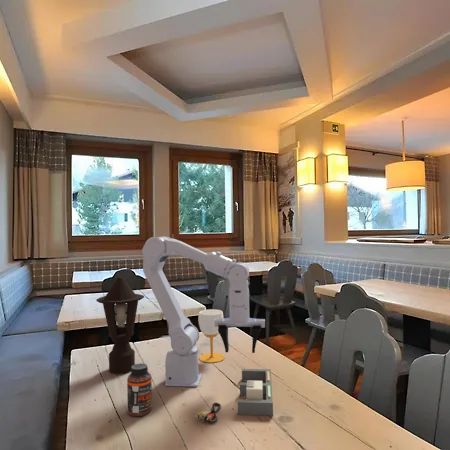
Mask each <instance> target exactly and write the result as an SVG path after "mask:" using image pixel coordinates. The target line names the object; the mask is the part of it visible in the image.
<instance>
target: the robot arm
mask: <svg viewBox="0 0 450 450" xmlns="http://www.w3.org/2000/svg"><path fill="white" fill-rule="evenodd" d="M141 253H142V255H143V256H142V257H143V258H142V259H143V260H142V262H143V263H142V271H143V274H144V276H145V278H146V280H147V283H148V285H149V288H150V289H151V290H152V293H153V295H154V297H155V299H156V302H157V303H158V305H159V307H160V309H161V311H162V314H163V316H164V317H165V321H167V324H168V336H169V337H170V346H171V348H172V350H168V351H167V352H166V355H165V360H164V361H165V362H164V363H165V364H164V365H165V367H164V368H165V386H166V387H192V388H193V387H198V386H199V384H200V381H201V379H202V376H203V375H202V373H199V349H198V346H197V342H198V341H199V338H200V332H199V330H198V328H197V327H196V326H195V325H193V323H192V322H191V320H190V318H188V317H187V316H186V315H185V314H184V312H183V310H182V308H181V305H180V304H179V302H178V299H177V297H176V295H175V294H174V291H173V289H172V287H171V285H170V283H169V281H168V279H167V277H166V275H165V273H164V270H163V268H164V265H165V263H166V261H167V259H168V258H169V256H174V255H175V256H176V255H180V256H182V257H185V258H187V259H189V260H192V261H195V262H197V263H200V264H202V265H203V267H204V269H205V271H207V272H210V273H213V274H215V275H217V276H219V277H222V278H224V279H228V281H229V290H228V294H229V296H228V297H229V317H226V318H224V317H223V318H222V319H215V320H214V321H215V327H218V332H219V334H218V335H219V336H220V338H221V340H222V343H223V346H224V350H225V353H229V350H230V349H229V348H230V345H229V327H236V328H237V327H242V328H243V327H245V328H249V327H250V328H252V329H251V332H252V335H251V337H252V338H251V339H252V346H251V347H252V348H251V352H252V354H255V353H256V345H257V342H258V339H259V336H260V334H261V332H262V328H266V319H265V318H255V317H253V318H252V317H250V290H249V285H250V284H249V280H248V278H249V276H250V268H249V266H248V265H246V264H245V263H244V262H242V261H237V259H236V258H233V259H231V258H229V257H226V256H224V255H222V252H220V251H216V252H215V251H212V252H209V253H207V252H204V251H202V250H200V249H198V248H196V247H194V246H191V245H189V244H188V243H185V242H183V241H181V240H179V239H176V238H171V237H169V236H167V235H166V236H165V235H164V236H163V235H162V236H158V237H157V236H152V237H149V238H148V239H147V240H146V241H145V243H144V245H143V247H142V249H141Z"/></svg>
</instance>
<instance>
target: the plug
mask: <svg viewBox="0 0 450 450" xmlns="http://www.w3.org/2000/svg"><path fill="white" fill-rule="evenodd" d="M246 383H247V387H246V395H247V396H246V399H249V400H264V397H263V386H262V383H263V381H248V380H247V381H246Z"/></svg>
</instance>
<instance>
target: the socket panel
mask: <svg viewBox="0 0 450 450" xmlns="http://www.w3.org/2000/svg"><path fill="white" fill-rule="evenodd" d="M247 380H248V381H262V386H263V398H266V399H263V400H249V399H247V398H246V399H245V398H244V399H241V398H237V415H239V416H240V415H241V416H243V415H245V416H274V401H273V400H274V397H273V388H272V387H273V385H272V371H271V368H270V369H268V368H265V369H264V368H242V369H241V381H242V382H239V397H247V395H246V387H247Z"/></svg>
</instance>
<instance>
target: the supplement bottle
mask: <svg viewBox="0 0 450 450" xmlns="http://www.w3.org/2000/svg"><path fill="white" fill-rule="evenodd" d="M148 369H149V368H148V364H147V363H142V362H141V363H135V365H133V366H132V367H131V372H130V374H129V375H128V377H127V380H126V381H127V383H126V385H127V386H126V387H127V390H126V391H127V413H128V414H129V415H130V416H132V417H142V416H146V415H148V414H149V413H150V412H151V411H152V409H153V405H152V403H153V399H152V398H153V397H152V396H153V394H152V393H153V392H152V391H153V388H152V387H153V385H152V383H153V382H152V374H151V373H150V372H149V371H148Z"/></svg>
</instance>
